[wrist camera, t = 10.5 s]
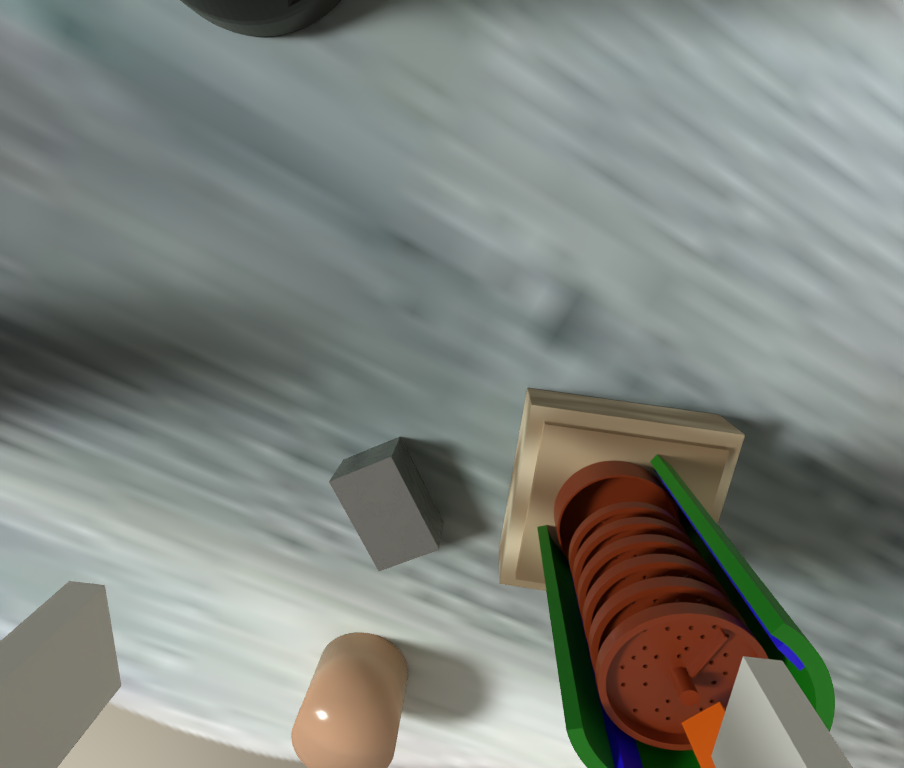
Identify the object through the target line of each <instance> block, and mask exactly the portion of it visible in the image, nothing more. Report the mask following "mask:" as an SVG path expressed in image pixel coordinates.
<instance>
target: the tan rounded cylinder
mask: <svg viewBox="0 0 904 768" xmlns="http://www.w3.org/2000/svg"><path fill="white" fill-rule="evenodd" d="M407 680H408V666H407V662H406V660H405V658H404V656H403V655H402V653H401V652H400V651H399V649H398V648H397V647H396V646H394V645H393V644H392V643H391V642H389V641H388V640H386V639H384V638H382V637H380V636H377V635H374V634H369V633H349V634H345V635H342V636H340V637H338V638H336V639H334V640H333V641H332V642H330V643H329V644H328V645H327V646H326V648H325V649H324V651H323V653H322V655H321V658H320V660H319V663H318V665H317V668H316V670H315V673H314V675H313V678H312V680H311V683H310V685H309V688H308V690H307V693H306V695H305V698H304V700H303V703H302V705H301V708H300V710H299V713H298V715H297V718H296V720H295V723H294V726H293V729H292V744H293V747H294V750H295V752H296V754H297V756H298V757H299V758H300V760H301V761H302V762H303V763H304V764H305V765H306V766H307V767H308V768H387V767H388V766H389V764H390V763H391V761H392V759H393V756H394V751H395V746H396V740H397V735H398V729H399V724H400V719H401V713H402V708H403V702H404V697H405V691H406V686H407Z"/></svg>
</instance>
